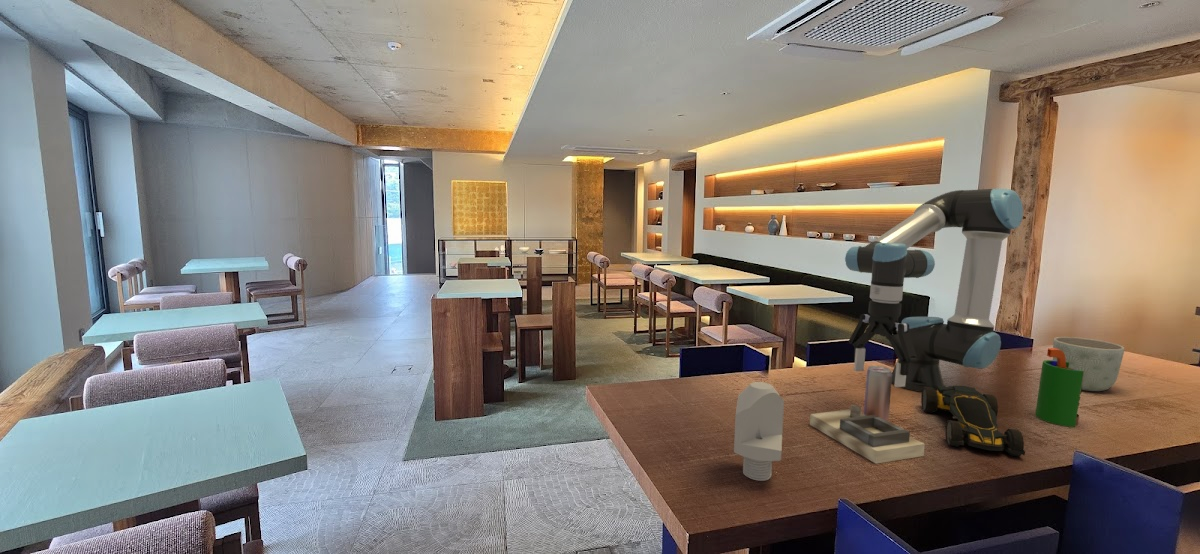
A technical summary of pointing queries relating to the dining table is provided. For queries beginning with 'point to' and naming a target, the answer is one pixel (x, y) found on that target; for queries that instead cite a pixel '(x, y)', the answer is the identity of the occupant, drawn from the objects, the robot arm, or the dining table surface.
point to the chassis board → (868, 435)
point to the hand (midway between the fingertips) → (878, 378)
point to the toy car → (972, 419)
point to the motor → (1059, 391)
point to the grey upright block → (759, 429)
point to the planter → (1092, 360)
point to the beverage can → (878, 391)
